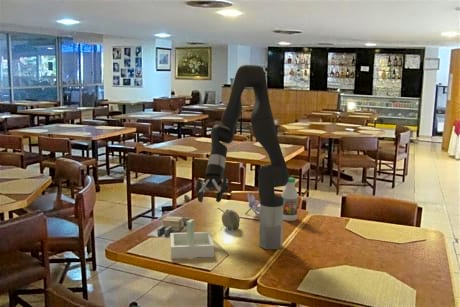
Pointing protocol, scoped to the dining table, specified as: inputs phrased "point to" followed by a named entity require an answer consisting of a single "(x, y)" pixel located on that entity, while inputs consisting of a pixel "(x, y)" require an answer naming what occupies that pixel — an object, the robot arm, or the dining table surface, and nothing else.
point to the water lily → (253, 205)
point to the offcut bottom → (175, 226)
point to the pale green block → (190, 232)
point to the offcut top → (172, 221)
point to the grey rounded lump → (230, 219)
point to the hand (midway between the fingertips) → (208, 201)
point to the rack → (168, 229)
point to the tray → (199, 249)
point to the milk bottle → (290, 201)
